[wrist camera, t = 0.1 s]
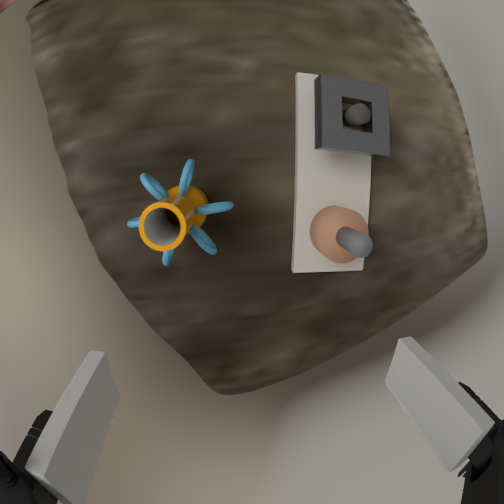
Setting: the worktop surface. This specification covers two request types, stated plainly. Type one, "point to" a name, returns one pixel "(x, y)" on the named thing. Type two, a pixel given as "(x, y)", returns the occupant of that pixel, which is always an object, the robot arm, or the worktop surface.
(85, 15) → the worktop surface
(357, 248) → the peg
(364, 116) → the stand
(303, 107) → the board
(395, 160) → the worktop surface
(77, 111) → the worktop surface
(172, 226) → the tube with blue rings
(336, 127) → the square frame with hole
